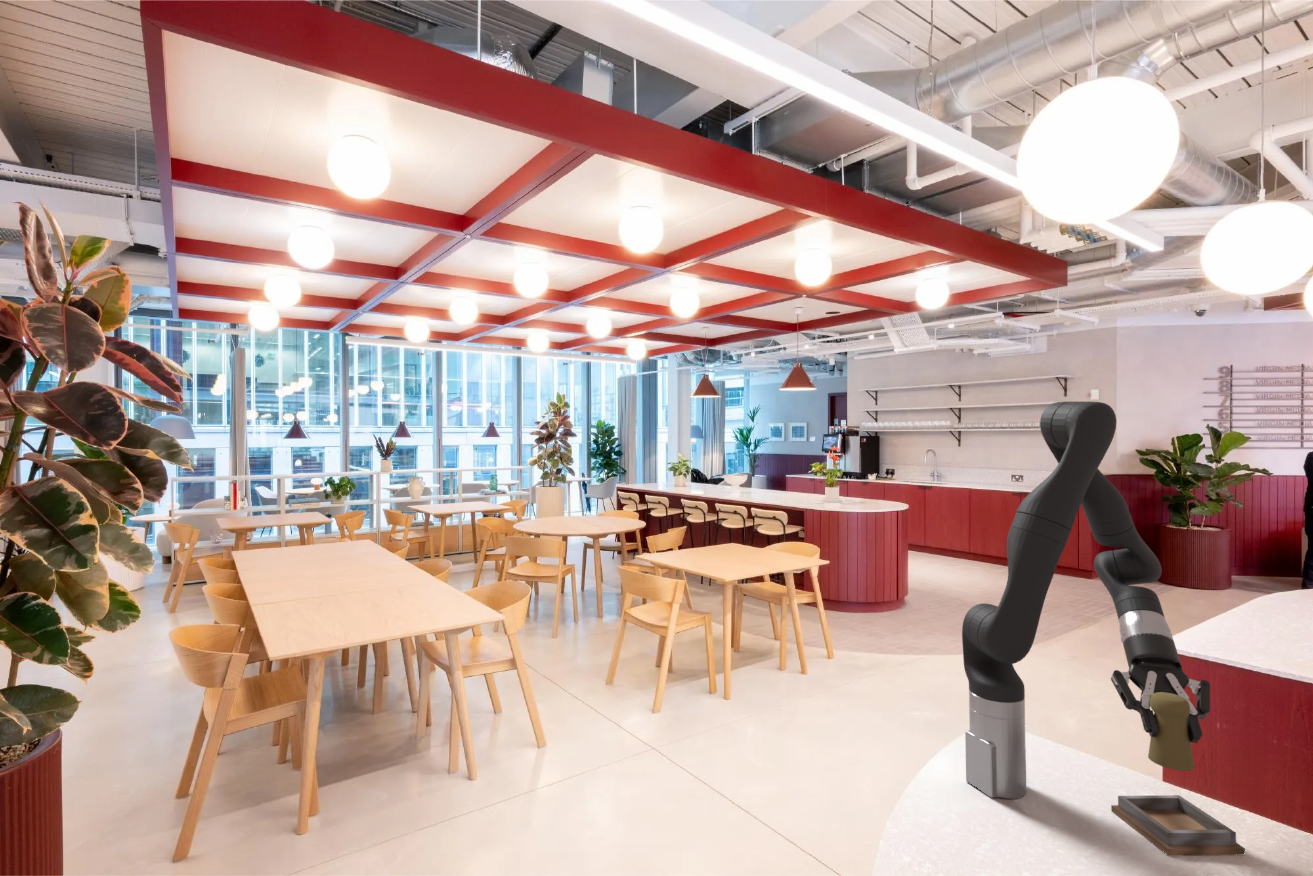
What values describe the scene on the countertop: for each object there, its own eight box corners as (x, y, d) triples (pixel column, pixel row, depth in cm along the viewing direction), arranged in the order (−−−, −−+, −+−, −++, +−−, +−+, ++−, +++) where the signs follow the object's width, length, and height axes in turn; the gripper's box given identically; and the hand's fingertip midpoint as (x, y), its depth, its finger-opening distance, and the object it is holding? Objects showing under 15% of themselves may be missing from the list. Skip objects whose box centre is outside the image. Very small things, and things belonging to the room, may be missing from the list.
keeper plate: (1167, 855, 97) (1167, 836, 97) (1111, 811, 109) (1111, 793, 109) (1245, 854, 97) (1244, 835, 97) (1180, 810, 109) (1179, 793, 109)
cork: (1204, 772, 101) (1202, 703, 101) (1161, 769, 102) (1159, 700, 102) (1180, 754, 107) (1178, 689, 107) (1140, 751, 108) (1138, 687, 108)
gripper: (1104, 627, 114) (1126, 721, 103) (1203, 636, 109) (1238, 736, 97) (1096, 648, 119) (1117, 739, 108) (1191, 657, 114) (1223, 755, 102)
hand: (1174, 737), depth 103 cm, fingers closed on cork, 4 cm apart
